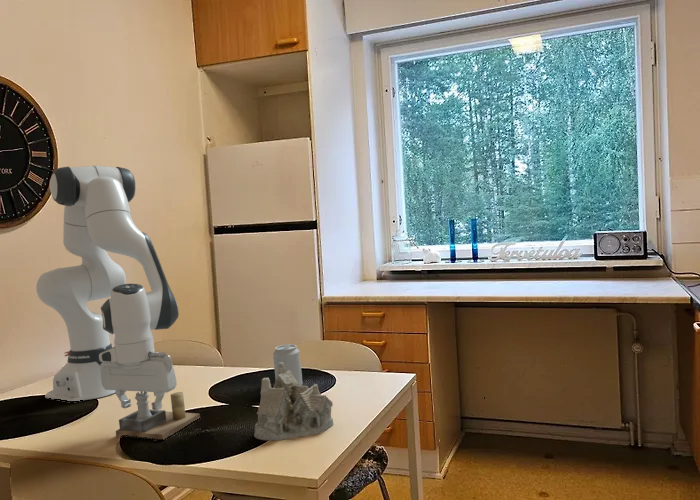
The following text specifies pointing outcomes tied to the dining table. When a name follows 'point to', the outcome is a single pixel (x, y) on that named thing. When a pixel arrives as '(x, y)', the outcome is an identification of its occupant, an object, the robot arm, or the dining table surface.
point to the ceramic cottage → (291, 409)
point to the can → (288, 360)
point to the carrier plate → (158, 421)
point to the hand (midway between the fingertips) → (141, 408)
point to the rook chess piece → (142, 406)
